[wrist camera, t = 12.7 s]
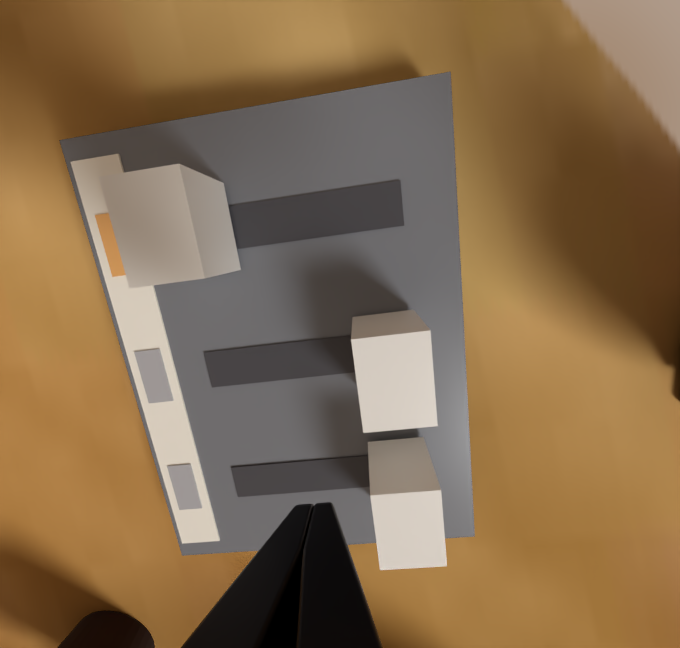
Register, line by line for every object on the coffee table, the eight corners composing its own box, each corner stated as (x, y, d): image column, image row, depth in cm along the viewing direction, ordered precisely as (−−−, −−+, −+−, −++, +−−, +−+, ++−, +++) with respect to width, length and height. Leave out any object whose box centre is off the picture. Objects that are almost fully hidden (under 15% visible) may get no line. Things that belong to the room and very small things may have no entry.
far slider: (423, 437, 18) (441, 490, 14) (428, 499, 19) (447, 566, 15) (367, 441, 18) (370, 495, 14) (375, 504, 19) (380, 570, 15)
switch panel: (437, 96, 17) (451, 69, 14) (461, 504, 22) (475, 539, 20) (99, 153, 18) (56, 139, 16) (200, 523, 24) (180, 558, 21)
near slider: (223, 183, 16) (178, 163, 12) (241, 269, 16) (204, 278, 13) (162, 192, 16) (98, 176, 12) (182, 277, 17) (129, 288, 13)
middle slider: (413, 309, 17) (430, 330, 13) (420, 385, 17) (437, 426, 14) (352, 316, 17) (351, 339, 13) (361, 390, 18) (363, 432, 14)
